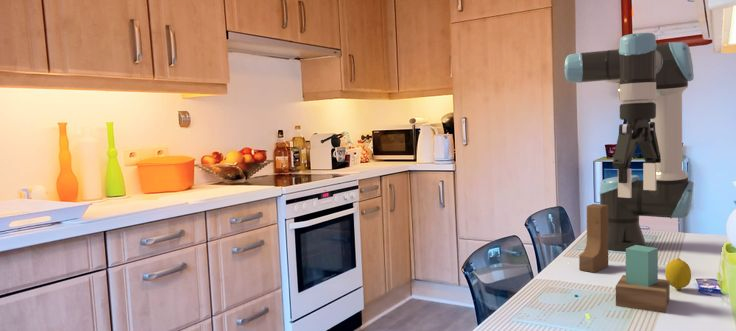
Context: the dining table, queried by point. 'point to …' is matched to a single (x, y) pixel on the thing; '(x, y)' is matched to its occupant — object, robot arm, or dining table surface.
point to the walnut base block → (643, 295)
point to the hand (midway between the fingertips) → (637, 193)
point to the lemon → (678, 273)
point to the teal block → (642, 265)
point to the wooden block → (595, 239)
